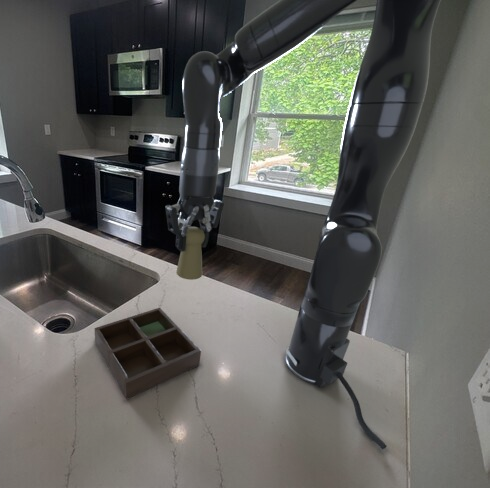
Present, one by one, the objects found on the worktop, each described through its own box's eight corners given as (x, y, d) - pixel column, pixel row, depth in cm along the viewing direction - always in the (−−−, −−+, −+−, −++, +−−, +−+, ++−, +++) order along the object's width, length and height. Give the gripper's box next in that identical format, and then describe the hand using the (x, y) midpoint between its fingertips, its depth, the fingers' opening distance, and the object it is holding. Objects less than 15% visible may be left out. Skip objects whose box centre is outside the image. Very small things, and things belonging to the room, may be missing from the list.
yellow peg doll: (201, 281, 66) (206, 235, 61) (174, 277, 67) (177, 231, 62) (203, 268, 71) (208, 225, 67) (178, 265, 72) (181, 222, 68)
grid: (199, 365, 62) (201, 350, 61) (126, 399, 54) (126, 383, 53) (159, 320, 75) (159, 307, 74) (95, 342, 67) (94, 328, 66)
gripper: (179, 176, 53) (173, 261, 60) (238, 172, 60) (227, 248, 67) (158, 169, 59) (155, 247, 66) (214, 166, 66) (206, 237, 73)
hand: (191, 247), depth 66 cm, fingers closed on yellow peg doll, 5 cm apart
